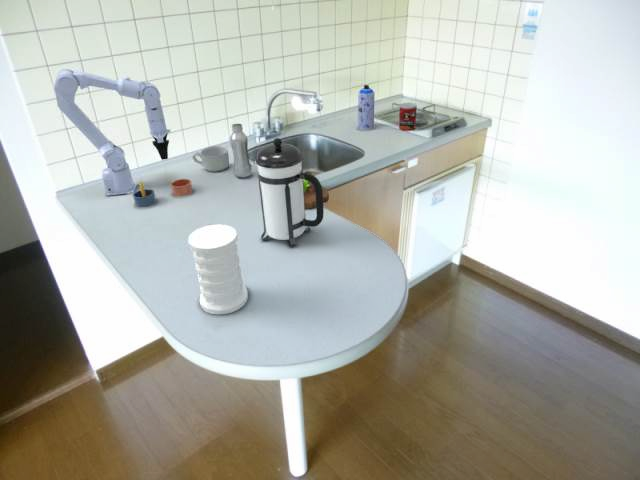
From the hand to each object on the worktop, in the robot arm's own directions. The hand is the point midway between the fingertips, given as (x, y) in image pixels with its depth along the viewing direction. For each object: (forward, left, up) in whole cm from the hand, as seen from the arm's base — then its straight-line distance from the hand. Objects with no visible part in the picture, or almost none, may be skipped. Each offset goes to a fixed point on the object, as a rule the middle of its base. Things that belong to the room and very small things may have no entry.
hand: (164, 155), depth 172 cm
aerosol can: (+87, +42, -11) cm, 97 cm away
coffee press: (+41, -51, -11) cm, 66 cm away
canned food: (+106, +36, -11) cm, 112 cm away
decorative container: (+22, -78, -11) cm, 82 cm away
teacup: (+16, +8, -11) cm, 21 cm away
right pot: (+6, -12, -10) cm, 17 cm away
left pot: (-6, -18, -10) cm, 22 cm away
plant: (+46, -26, -11) cm, 54 cm away
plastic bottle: (+28, -2, -11) cm, 30 cm away
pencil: (-6, -18, -10) cm, 21 cm away
